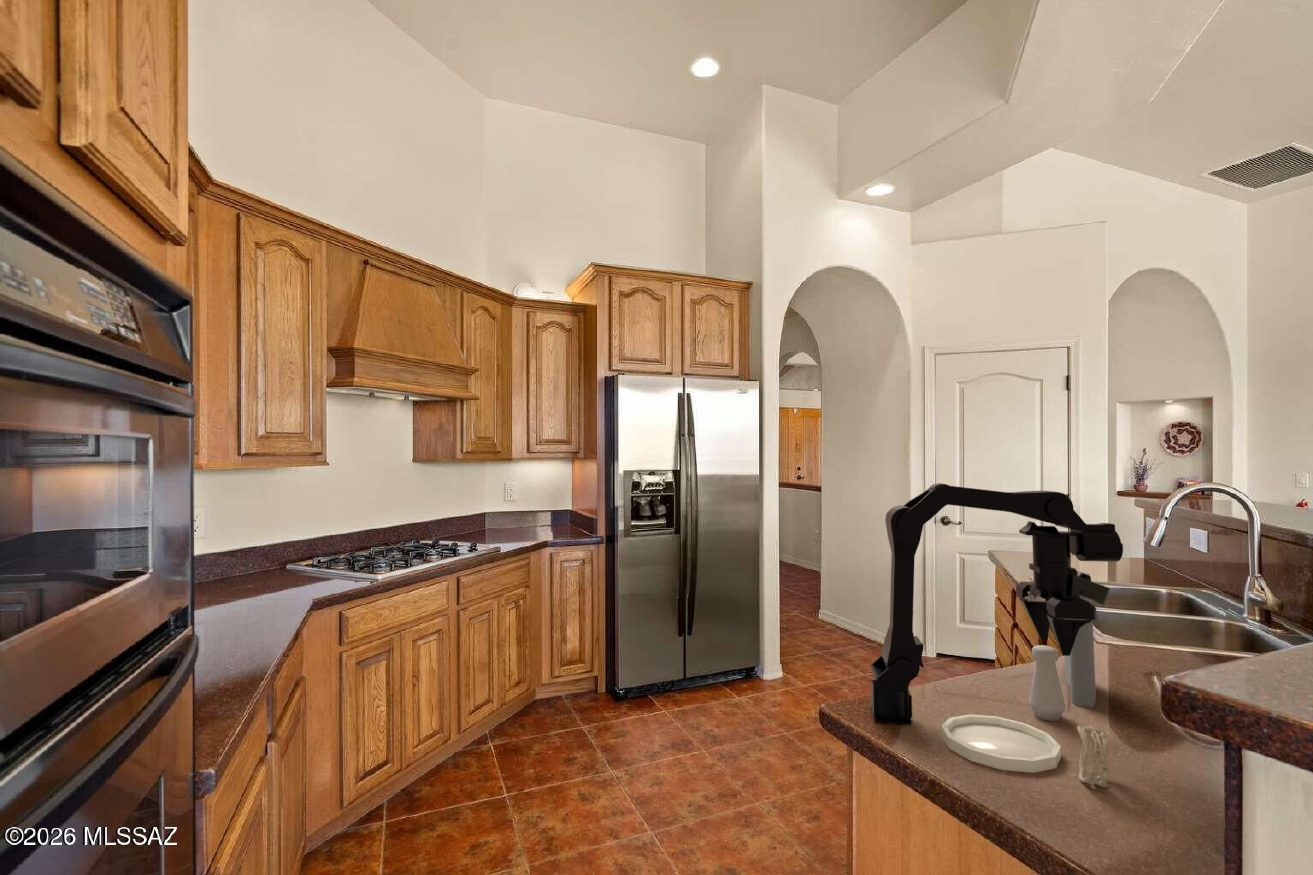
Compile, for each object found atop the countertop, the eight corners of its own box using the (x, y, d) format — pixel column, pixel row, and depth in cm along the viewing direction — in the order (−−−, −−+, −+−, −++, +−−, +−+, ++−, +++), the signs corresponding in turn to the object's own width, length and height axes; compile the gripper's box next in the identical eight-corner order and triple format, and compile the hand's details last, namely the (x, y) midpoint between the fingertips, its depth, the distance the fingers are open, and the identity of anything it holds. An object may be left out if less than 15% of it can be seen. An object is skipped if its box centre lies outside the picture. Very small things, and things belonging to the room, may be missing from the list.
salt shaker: (1071, 724, 111) (1068, 652, 112) (1036, 721, 112) (1034, 650, 113) (1057, 711, 117) (1054, 643, 118) (1024, 709, 118) (1022, 641, 119)
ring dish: (958, 765, 96) (958, 754, 96) (933, 721, 113) (933, 711, 113) (1079, 776, 93) (1078, 764, 93) (1034, 729, 109) (1034, 718, 109)
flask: (1100, 709, 118) (1095, 579, 119) (1071, 704, 120) (1067, 577, 122) (1090, 681, 133) (1085, 566, 134) (1064, 677, 135) (1060, 564, 137)
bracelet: (1080, 791, 89) (1078, 735, 89) (1077, 768, 95) (1075, 716, 96) (1114, 799, 87) (1112, 742, 87) (1108, 774, 93) (1106, 721, 94)
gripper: (1130, 570, 99) (1134, 667, 99) (1077, 553, 118) (1080, 635, 117) (1054, 568, 102) (1058, 663, 101) (1013, 552, 120) (1016, 632, 119)
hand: (1054, 647), depth 110 cm, fingers open, 9 cm apart
